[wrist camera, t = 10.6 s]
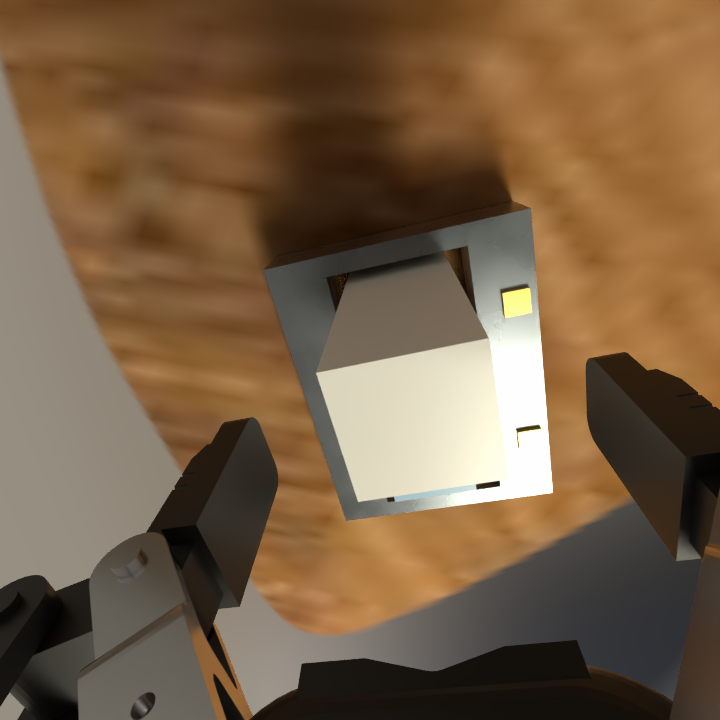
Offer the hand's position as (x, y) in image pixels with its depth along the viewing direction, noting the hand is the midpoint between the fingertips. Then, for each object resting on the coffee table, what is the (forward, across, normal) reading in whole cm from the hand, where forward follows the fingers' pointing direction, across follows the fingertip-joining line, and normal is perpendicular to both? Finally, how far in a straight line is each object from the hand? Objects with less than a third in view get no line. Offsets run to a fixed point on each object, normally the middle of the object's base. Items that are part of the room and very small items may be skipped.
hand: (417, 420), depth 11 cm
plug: (+10, 0, 0) cm, 10 cm away
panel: (+10, 0, +4) cm, 10 cm away
